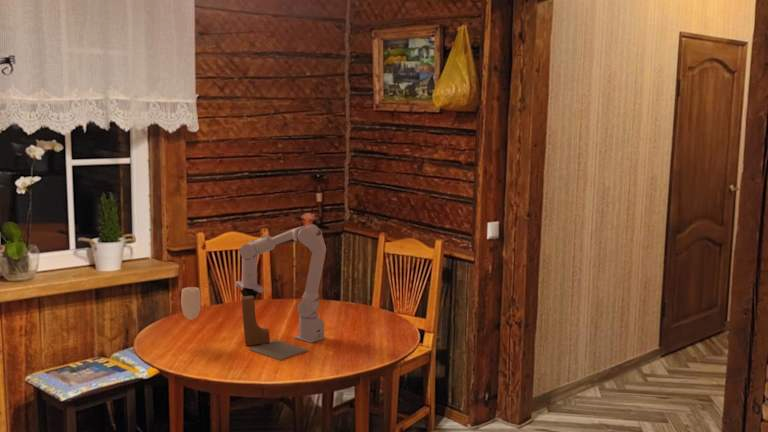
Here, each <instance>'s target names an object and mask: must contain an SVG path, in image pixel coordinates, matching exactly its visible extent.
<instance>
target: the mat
mask: <svg viewBox="0 0 768 432" xmlns="http://www.w3.org/2000/svg"><path fill="white" fill-rule="evenodd" d="M248 350H249V351H251V352H254V353H257V354H260V355H262V356H266V357H268V358H272V359H275V360H278V361H280V362H281V361H283V360H287V359H289V358H293V357H296V356H298V355H302V354H304V353H307V352H309V349H308V348H304V347H300V346H297V345H295V344H291V343H288V342H284V341H282V340H278V339H276V340H272V341H270V343H266V344H258V345H256V346H255V345H254V346H253V347H249V348H248Z"/></svg>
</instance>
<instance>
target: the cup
mask: <svg viewBox="0 0 768 432" xmlns="http://www.w3.org/2000/svg"><path fill="white" fill-rule="evenodd" d="M201 305H202V298H201V290H200V287H197V286H196V287H194V286H189V287H184V288H182V290H181V296H180V307H181V311H182V313H183V316H184V317H185V318H186V319H188V320H190V321H192V320H194V319H196V318H197V317H198V316H200V315H199V314H200V310H201V307H202V306H201Z"/></svg>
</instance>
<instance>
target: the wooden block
mask: <svg viewBox="0 0 768 432" xmlns="http://www.w3.org/2000/svg"><path fill="white" fill-rule="evenodd" d="M255 305H256V304H255V300H254V296H243V295H242V296H241V309H242V310H241V312H242V320H243V330H244V331H243V332H244V342H245V343H244V344H245V346H255V345H256V346H257V345H262V344H266V343H270V342H271V341H270V329H269V328H262V327H261V326H259V325H258V322H257V317H256V315H257V314H256V307H255Z"/></svg>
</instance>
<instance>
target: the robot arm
mask: <svg viewBox="0 0 768 432" xmlns="http://www.w3.org/2000/svg"><path fill="white" fill-rule="evenodd" d="M291 240H293V241H295V242H299V243H301V244H303V246H305V247H306V248H308V249H309V251H310V252H311V258H310V263H309V268H308V273H307V278H306V283H305V289H304V293H303V295H302V296H301V300H300V303H299V304H298V306H297V313H298V315H299V317H298V319H299V320H298V325H299V327H298V329H299V330H298V335H295V336H294V339H297V340H300V341H303V342H307V343H315V342H318V341H322V340H324V339H326V336H325V322H324V320H323V319H322V318H320V316H319V313H318V310H319V308H320V304H321V303H320V299H319V298H320V294H319V288H320V283H321V278H322V274H323V273H322V272H323V268H324V263H325V257H326V253H327V247H326V243H325V241H324V237H323V231H322V230H321V229H320V228H319V227H318V226H317V225H316V224H313V223H311V224H307V225H302V226H298V227H295V228H293V229H290V230H287V231H284V232H282V233H280V234H278V235H275V236H271V235H266V234H264V235H261V237H260V238H258V239H256V240H255V239H252V240H250V241H249V242H247V243H245V244H243V245H242V246H241V247H240V248H239V255H240V256H241V280H238V281H237V280H236V281H235V287H240V288H242V289H240V293H241V295H242V297H243V296H254V301H255V299H256V296H257V295H258V293H261V294H262V293H264V291H265V288H264V287H263V286H262V285H259V284H258V262H257V261H258V258H257V257H258V255H262V254H265V253H267V252H270V251H272V250H274V249H275V247H276V245H280V244H283V243H285V242H288V241H291Z"/></svg>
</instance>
